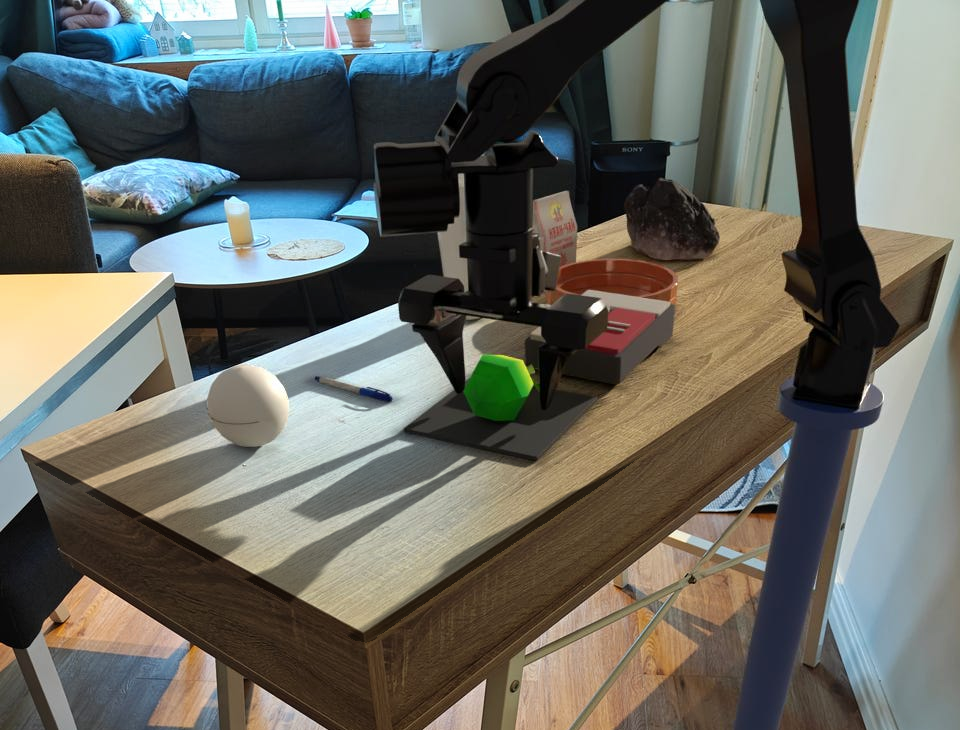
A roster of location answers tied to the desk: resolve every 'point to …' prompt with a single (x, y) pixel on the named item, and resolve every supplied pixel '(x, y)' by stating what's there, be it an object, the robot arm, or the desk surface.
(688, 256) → the crystal cluster
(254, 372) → the seamed sphere
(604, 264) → the bowl
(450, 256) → the drinking glass
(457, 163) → the robot arm
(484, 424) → the mat
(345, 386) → the ballpoint pen
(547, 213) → the white gabled box
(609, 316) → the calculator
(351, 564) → the desk surface
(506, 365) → the green polyhedron
